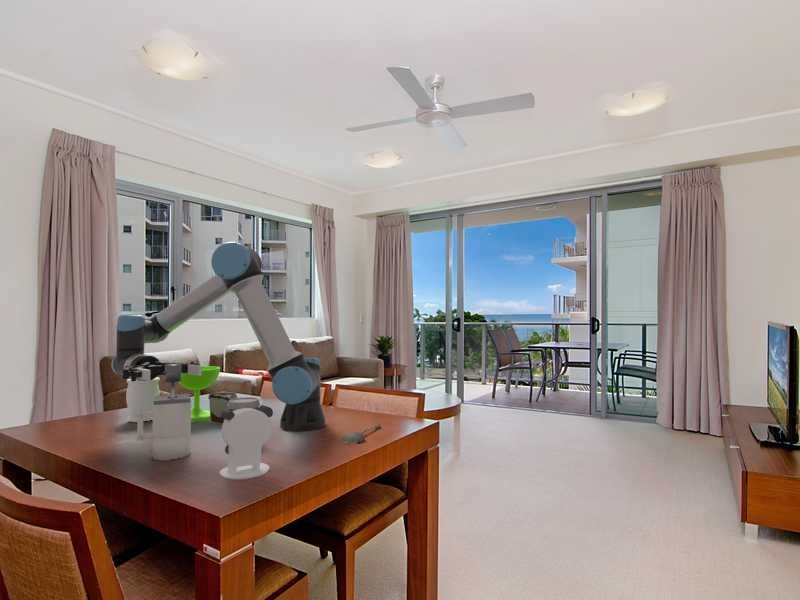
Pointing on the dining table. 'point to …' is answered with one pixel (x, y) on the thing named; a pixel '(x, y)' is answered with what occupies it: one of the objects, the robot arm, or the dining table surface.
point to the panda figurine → (245, 441)
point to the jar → (141, 397)
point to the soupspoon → (356, 436)
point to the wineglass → (197, 384)
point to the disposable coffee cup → (243, 403)
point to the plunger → (173, 376)
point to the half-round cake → (219, 405)
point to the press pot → (168, 426)
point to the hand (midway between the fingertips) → (175, 373)
